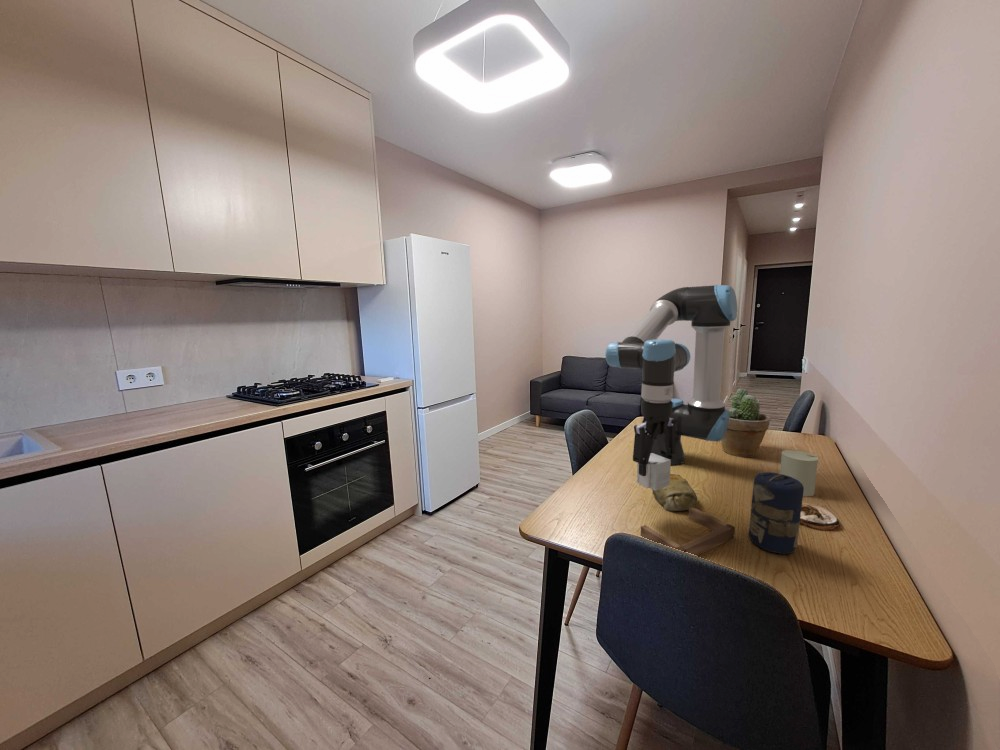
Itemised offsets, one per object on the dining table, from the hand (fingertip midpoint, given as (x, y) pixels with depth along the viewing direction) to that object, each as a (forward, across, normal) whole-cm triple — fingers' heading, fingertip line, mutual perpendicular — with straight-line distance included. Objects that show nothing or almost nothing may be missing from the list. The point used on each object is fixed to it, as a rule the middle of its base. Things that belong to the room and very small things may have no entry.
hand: (653, 482), depth 102 cm
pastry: (+11, +14, +4) cm, 18 cm away
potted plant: (+13, +71, +18) cm, 75 cm away
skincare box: (+1, 0, 0) cm, 1 cm away
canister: (+11, +15, -22) cm, 29 cm away
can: (+12, +53, -10) cm, 55 cm away
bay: (+10, 0, -10) cm, 15 cm away
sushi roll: (+12, +37, -20) cm, 44 cm away
